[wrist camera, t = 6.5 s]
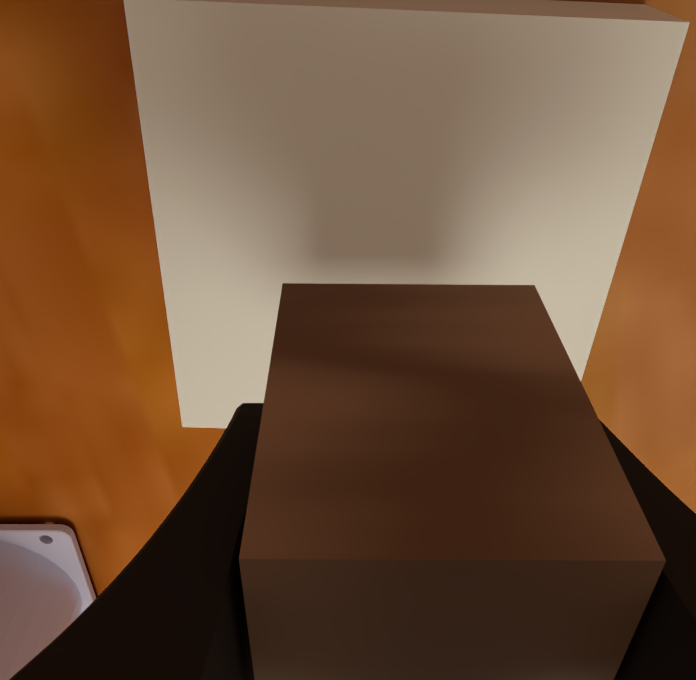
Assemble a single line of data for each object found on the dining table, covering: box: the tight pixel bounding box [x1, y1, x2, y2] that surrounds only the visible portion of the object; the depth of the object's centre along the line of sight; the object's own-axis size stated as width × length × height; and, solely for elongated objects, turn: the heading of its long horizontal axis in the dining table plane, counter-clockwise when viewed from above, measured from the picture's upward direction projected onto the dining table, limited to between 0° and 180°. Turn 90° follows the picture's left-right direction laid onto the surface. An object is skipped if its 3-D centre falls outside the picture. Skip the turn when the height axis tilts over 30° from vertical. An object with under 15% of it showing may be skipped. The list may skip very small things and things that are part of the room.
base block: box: [123, 0, 690, 428], centre depth 19 cm, size 12×12×3 cm
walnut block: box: [239, 283, 666, 680], centre depth 11 cm, size 5×5×6 cm
